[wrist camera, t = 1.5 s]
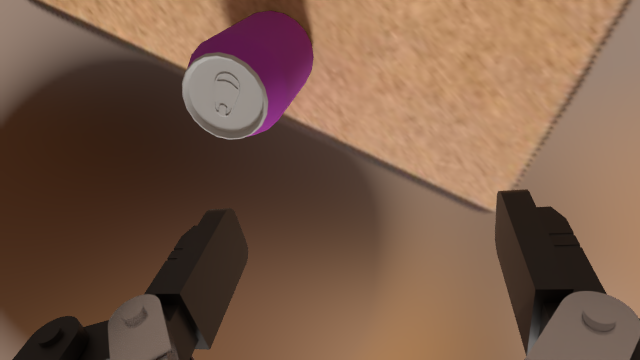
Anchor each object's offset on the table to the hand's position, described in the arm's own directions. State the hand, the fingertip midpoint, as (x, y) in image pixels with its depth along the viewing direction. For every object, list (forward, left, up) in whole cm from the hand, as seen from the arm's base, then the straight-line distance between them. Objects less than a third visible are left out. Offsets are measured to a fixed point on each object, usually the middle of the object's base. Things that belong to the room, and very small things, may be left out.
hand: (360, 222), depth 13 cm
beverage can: (-12, -1, -27) cm, 29 cm away
